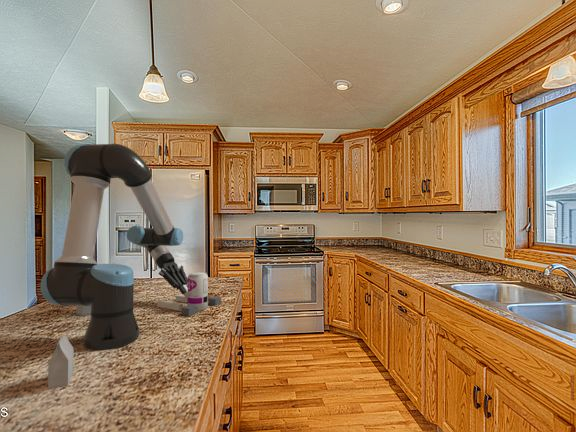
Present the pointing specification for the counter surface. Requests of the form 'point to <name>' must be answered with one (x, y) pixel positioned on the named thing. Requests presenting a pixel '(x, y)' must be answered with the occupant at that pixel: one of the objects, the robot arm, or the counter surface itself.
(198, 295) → the supplement can
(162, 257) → the robot arm
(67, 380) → the gray house shaped block
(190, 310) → the chute
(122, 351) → the counter surface
